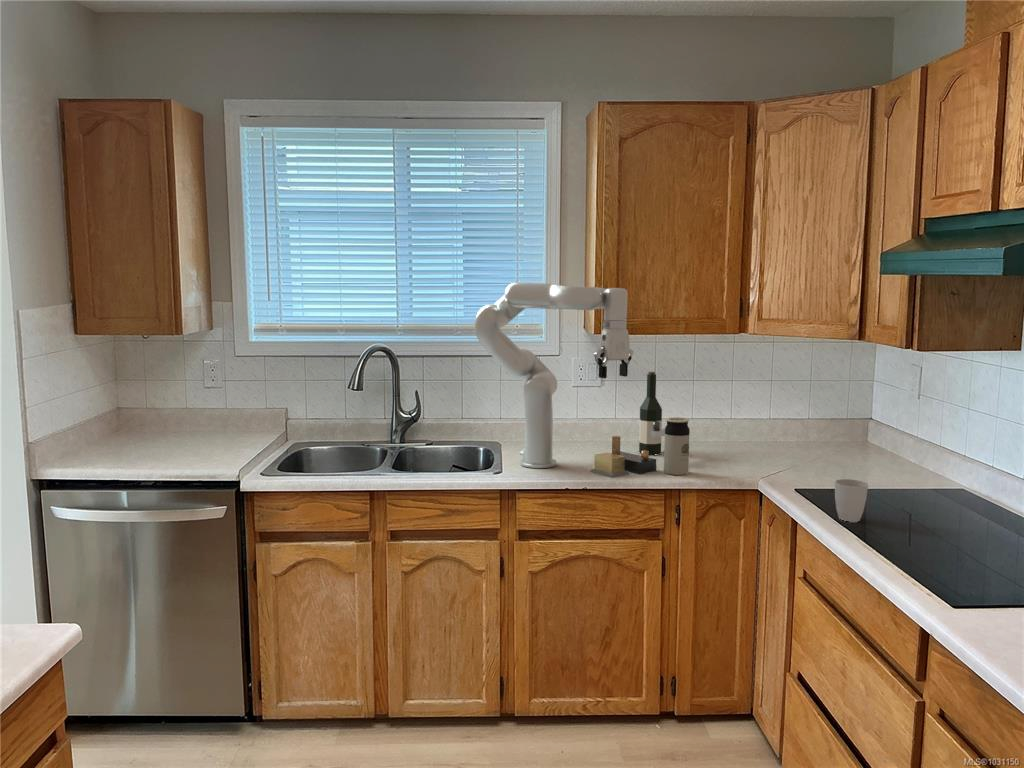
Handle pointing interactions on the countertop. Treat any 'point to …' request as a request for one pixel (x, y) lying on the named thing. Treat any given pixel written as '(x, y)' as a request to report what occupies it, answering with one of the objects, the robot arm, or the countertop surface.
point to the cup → (850, 499)
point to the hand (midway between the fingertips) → (613, 377)
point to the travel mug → (676, 446)
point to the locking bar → (657, 430)
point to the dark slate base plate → (634, 459)
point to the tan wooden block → (609, 463)
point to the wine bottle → (650, 418)
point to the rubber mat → (609, 473)
